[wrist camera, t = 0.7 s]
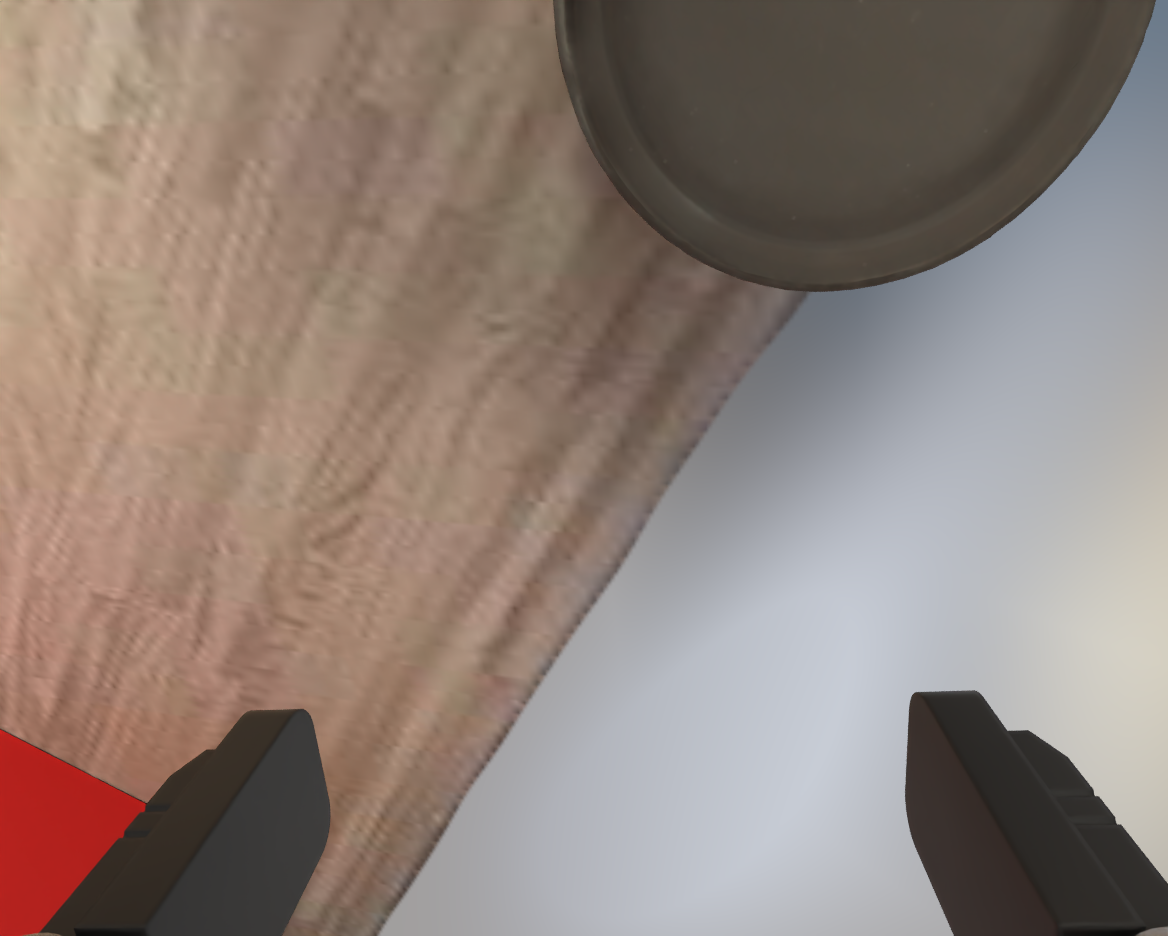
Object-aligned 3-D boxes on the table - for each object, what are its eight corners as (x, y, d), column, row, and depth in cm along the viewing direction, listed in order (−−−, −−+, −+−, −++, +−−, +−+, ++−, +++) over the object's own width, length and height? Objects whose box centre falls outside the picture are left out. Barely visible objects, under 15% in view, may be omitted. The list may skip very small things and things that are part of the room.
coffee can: (919, -144, 24) (1267, -442, 11) (876, 212, 28) (1093, 290, 15) (580, -132, 25) (540, -408, 12) (586, 216, 29) (561, 296, 16)
